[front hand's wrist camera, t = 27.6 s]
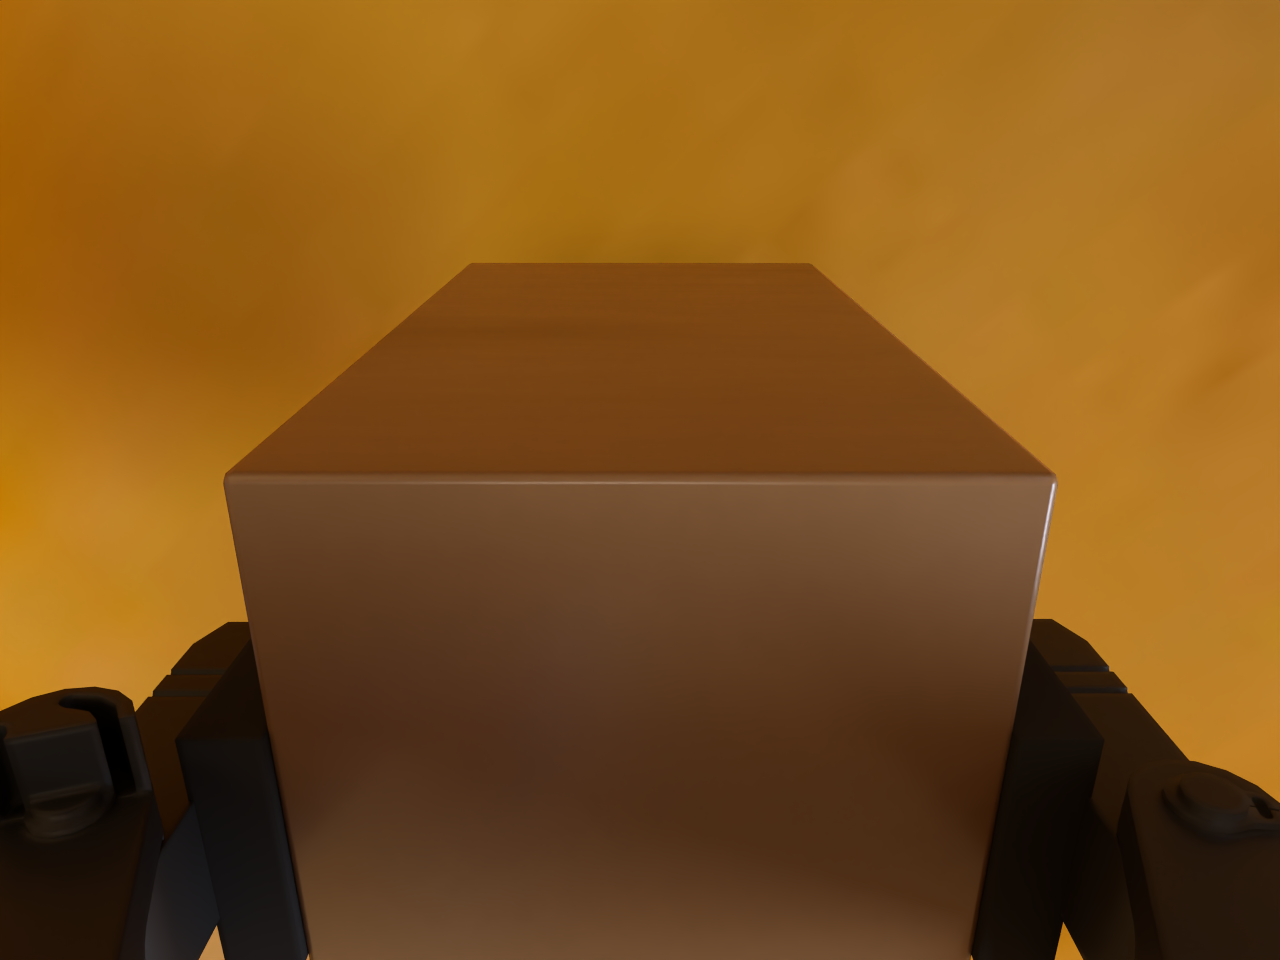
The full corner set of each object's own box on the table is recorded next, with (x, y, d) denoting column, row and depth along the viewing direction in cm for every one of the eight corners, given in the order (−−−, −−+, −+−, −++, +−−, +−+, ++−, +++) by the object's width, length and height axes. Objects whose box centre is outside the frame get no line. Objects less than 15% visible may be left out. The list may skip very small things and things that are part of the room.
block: (788, 611, 20) (942, 1128, 10) (492, 611, 20) (336, 1127, 10) (813, 262, 17) (1064, 476, 7) (468, 262, 18) (217, 474, 7)
